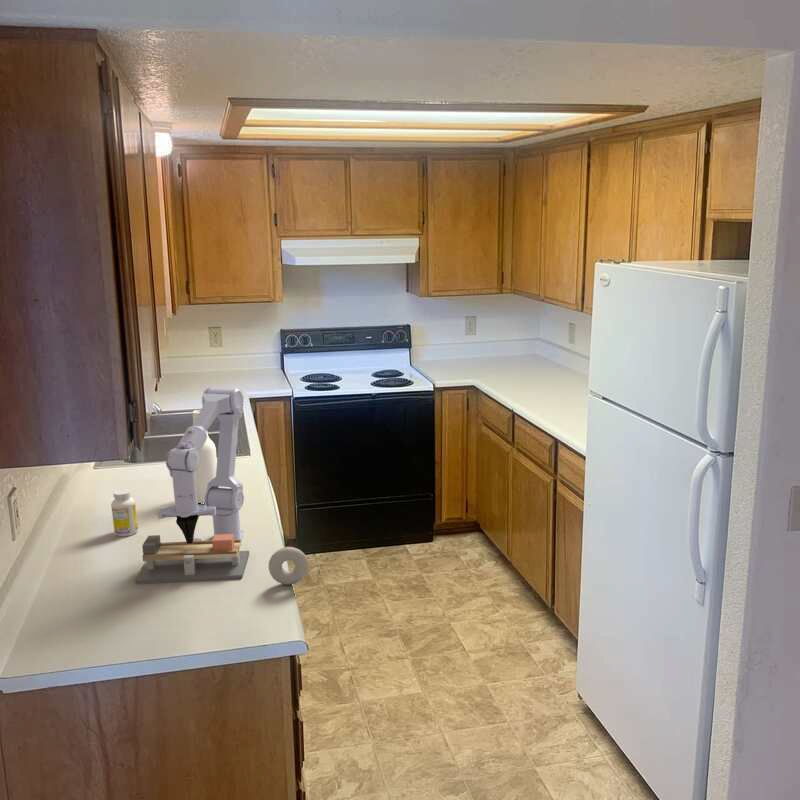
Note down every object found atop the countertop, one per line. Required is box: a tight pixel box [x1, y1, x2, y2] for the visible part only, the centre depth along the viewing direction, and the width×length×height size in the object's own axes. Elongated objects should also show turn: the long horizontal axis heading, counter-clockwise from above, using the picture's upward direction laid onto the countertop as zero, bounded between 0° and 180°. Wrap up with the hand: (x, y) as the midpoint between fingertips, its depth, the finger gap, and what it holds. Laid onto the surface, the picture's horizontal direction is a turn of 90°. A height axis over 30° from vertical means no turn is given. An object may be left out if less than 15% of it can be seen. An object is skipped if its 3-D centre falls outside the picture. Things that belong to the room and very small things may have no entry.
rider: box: [211, 534, 234, 551], centre depth 210 cm, size 4×5×3 cm
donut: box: [268, 546, 310, 586], centre depth 200 cm, size 10×3×10 cm, turn 96°
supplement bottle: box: [110, 488, 139, 537], centre depth 235 cm, size 7×7×13 cm
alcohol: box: [191, 409, 220, 505], centre depth 258 cm, size 9×9×30 cm
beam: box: [141, 534, 242, 562], centre depth 210 cm, size 8×24×4 cm, turn 93°
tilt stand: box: [134, 537, 250, 584], centre depth 211 cm, size 15×27×6 cm, turn 93°
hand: (190, 542), depth 210 cm, fingers closed
